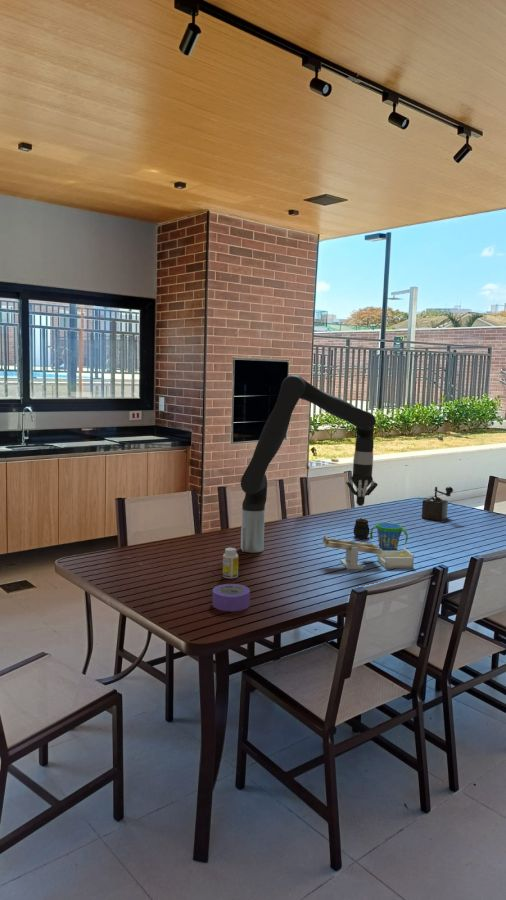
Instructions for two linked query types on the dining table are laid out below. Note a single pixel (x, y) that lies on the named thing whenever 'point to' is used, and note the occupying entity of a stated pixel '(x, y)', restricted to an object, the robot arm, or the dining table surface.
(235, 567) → the supplement bottle
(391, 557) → the tray
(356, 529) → the mate gourd
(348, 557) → the stand
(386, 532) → the snack cup
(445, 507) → the brown manual coffee grinder
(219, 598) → the tape roll
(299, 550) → the dining table surface
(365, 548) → the lever
